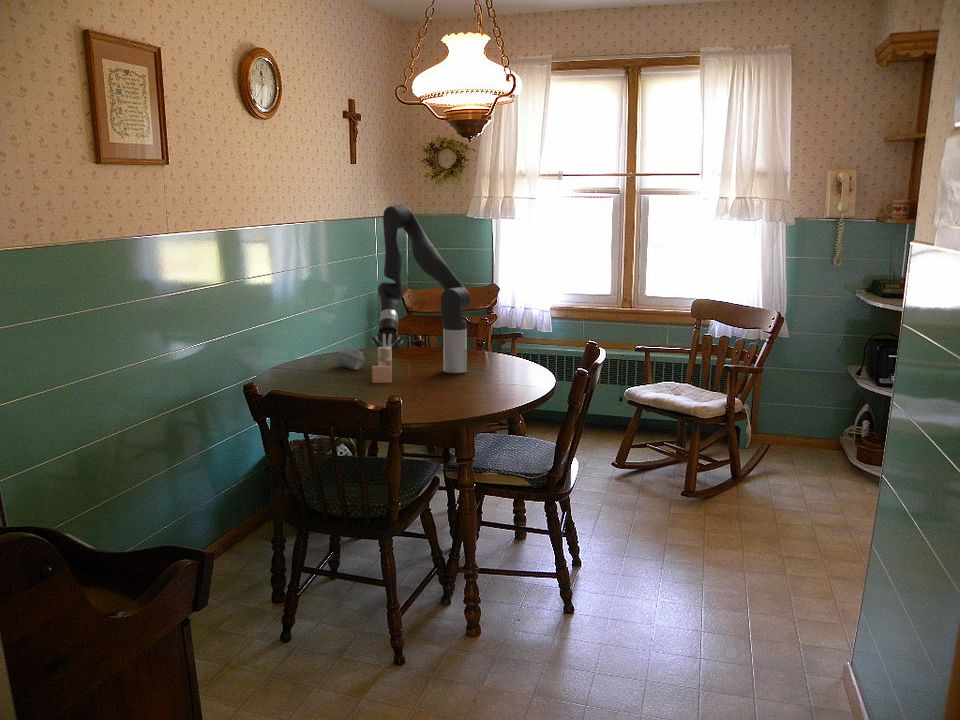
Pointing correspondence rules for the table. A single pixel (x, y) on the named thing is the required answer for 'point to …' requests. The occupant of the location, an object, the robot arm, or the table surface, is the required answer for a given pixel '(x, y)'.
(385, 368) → the block
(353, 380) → the table surface
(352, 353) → the grey rounded lump
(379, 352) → the keeper
